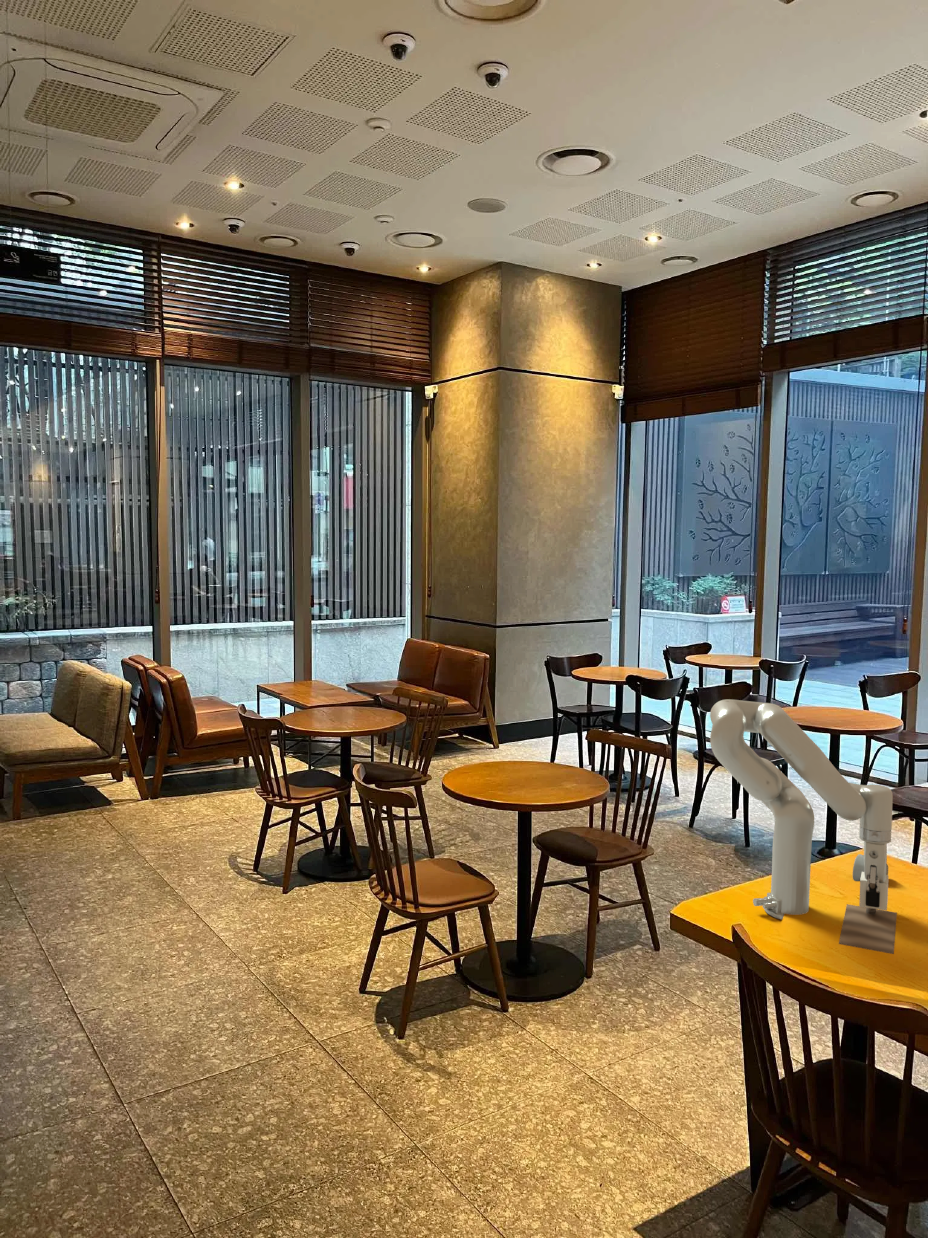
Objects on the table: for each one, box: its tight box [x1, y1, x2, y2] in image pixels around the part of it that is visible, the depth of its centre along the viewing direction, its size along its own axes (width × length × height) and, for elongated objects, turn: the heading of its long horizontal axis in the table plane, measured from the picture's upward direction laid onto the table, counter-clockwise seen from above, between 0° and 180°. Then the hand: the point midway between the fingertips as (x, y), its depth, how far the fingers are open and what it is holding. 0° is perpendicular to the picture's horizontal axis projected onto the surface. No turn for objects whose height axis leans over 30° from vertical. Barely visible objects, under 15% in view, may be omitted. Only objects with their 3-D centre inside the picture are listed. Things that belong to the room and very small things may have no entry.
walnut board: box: [838, 904, 898, 955], centre depth 233 cm, size 26×12×2 cm, turn 154°
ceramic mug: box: [852, 853, 889, 882], centre depth 266 cm, size 11×8×8 cm
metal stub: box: [866, 907, 876, 915], centre depth 241 cm, size 2×2×5 cm
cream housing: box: [858, 872, 889, 911], centre depth 241 cm, size 6×6×7 cm
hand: (873, 900), depth 241 cm, fingers closed on cream housing, 6 cm apart
